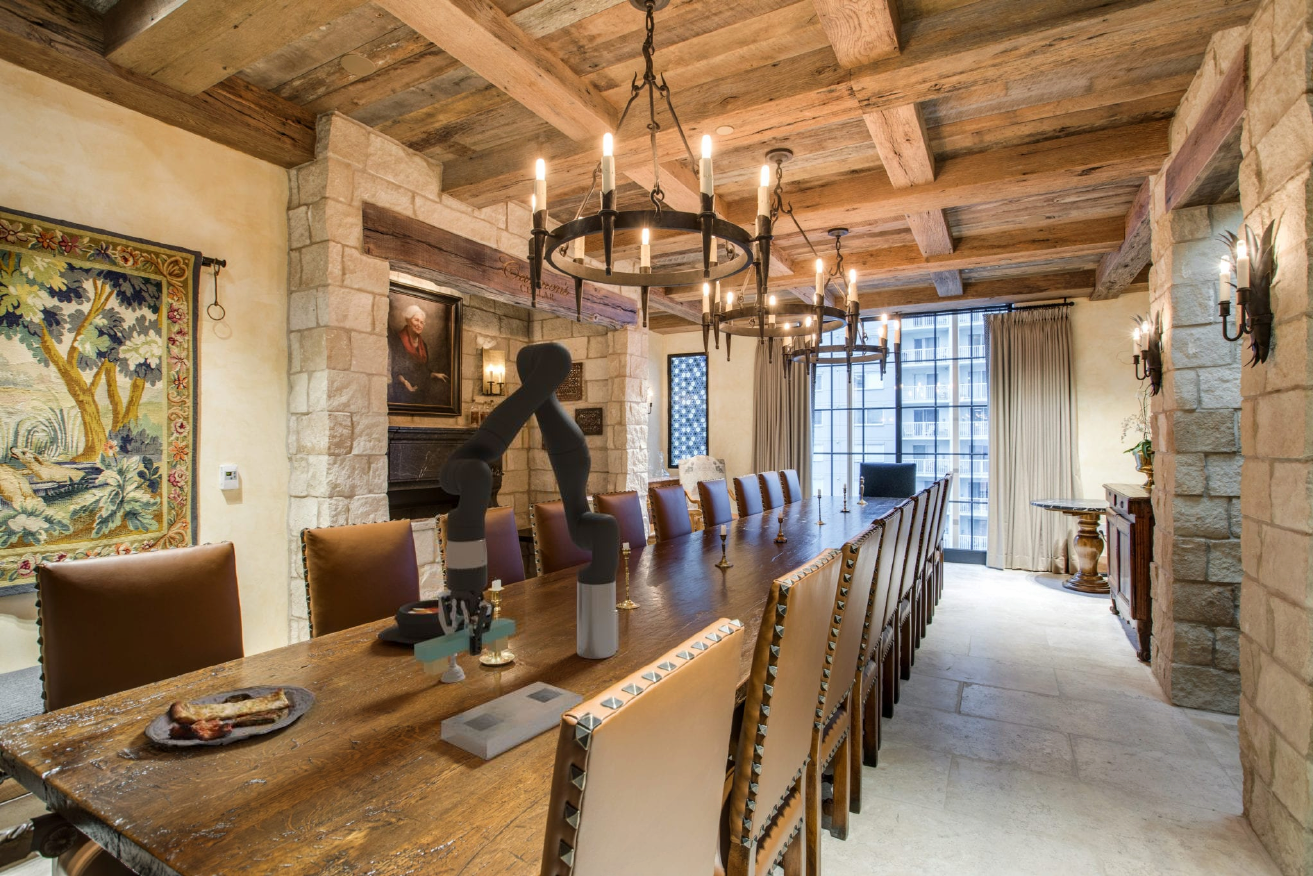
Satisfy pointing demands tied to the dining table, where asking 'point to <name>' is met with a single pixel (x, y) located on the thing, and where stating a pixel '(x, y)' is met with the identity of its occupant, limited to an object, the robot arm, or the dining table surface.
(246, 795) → the dining table surface
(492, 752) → the plate
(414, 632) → the casserole
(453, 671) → the chalice
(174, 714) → the food plate
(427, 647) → the strip bar
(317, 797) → the dining table surface
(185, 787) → the dining table surface
